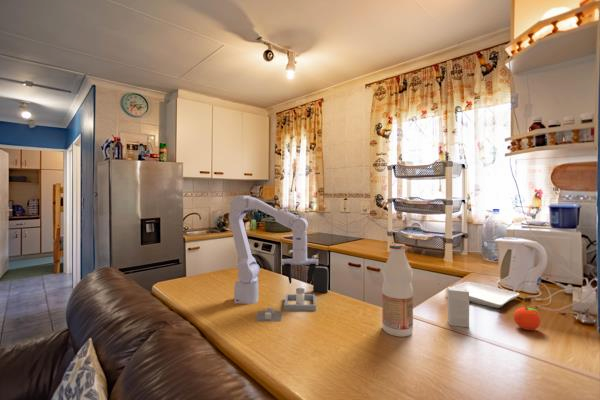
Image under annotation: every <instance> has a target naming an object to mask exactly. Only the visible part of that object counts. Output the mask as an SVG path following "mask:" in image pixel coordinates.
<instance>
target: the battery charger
mask: <svg viewBox="0 0 600 400" xmlns="http://www.w3.org/2000/svg"><path fill="white" fill-rule="evenodd" d="M312 284H313V285H312V287H313V288H312V291H313V292H315V293H323V294H324V293H328V292H329V268H328V267H327V266H323V265H320V266H319V265H316V268H315V270H314V272H313V275H312Z"/></svg>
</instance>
